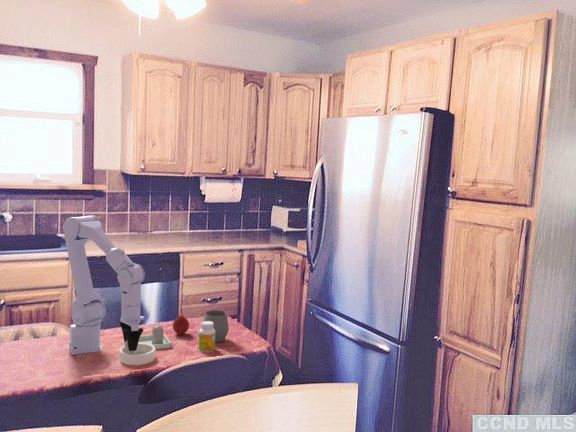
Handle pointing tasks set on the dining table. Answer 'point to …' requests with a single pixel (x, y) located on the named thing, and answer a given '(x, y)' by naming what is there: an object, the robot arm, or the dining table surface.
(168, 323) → the dining table surface
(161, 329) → the stone
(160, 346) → the tray
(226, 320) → the cup
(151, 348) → the bowl
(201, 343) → the supplement bottle
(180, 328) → the onion
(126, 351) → the stone
